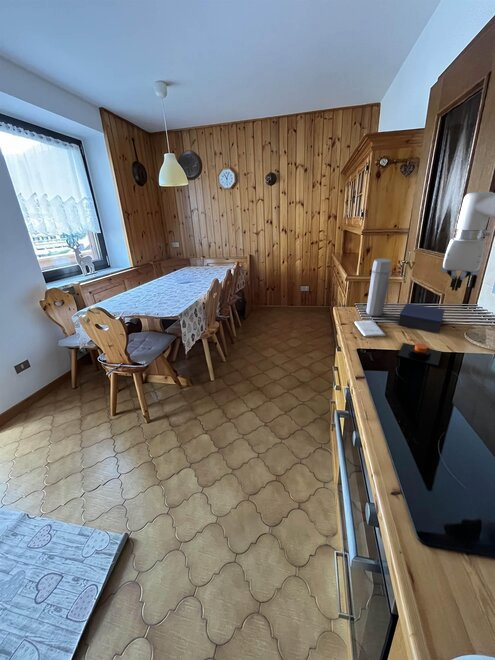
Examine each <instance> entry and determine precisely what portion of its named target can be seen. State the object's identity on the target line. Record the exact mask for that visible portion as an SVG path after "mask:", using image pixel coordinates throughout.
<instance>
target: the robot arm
mask: <svg viewBox="0 0 495 660" xmlns="http://www.w3.org/2000/svg"><path fill="white" fill-rule="evenodd" d="M490 218H494V219H495V192H493V191H474V192H469V193H467V194H465V196H464V197H463V200H462V204H461V209H460V212H459V216H458V220H457V224H456V228H455V233H454V237H452V238H451V239H450V240H449V243H448V244H447V248H446V251H445V253H444V258H443V262H442V266H441V268H440V272H441V273H444V274H447V275H448V276H449V277H450V279H451V281H450V285H449V288H451V291H455V292H457V291H458V290H459V289H461V287H462V283H463V280H465V279H467V278H468V277H469V276H476V275H479V274H480V268H481V265H482V262H483V257H484V253H485V248H486V238H485V237H489V236H491V233H492V231H491V230H487V226H488V222H489V219H490ZM457 271H461V272H460V275H459V276H457Z"/></svg>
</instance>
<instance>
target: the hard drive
mask: <svg viewBox="0 0 495 660" xmlns="http://www.w3.org/2000/svg"><path fill="white" fill-rule="evenodd" d="M354 325H355V326H356V328H357V329H358V331H360V333H361V334H362V335H363V337H364V338H366V337H369V338H370V337H385V336H386V333H385V332H384V331H383V330H382V329H381V328H380V327H379V325H378V324H377V323H376V322H375V321H374V320H358V321H354Z"/></svg>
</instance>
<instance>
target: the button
mask: <svg viewBox="0 0 495 660" xmlns="http://www.w3.org/2000/svg"><path fill="white" fill-rule="evenodd" d="M414 345H415V351H417V352H421V353H425V352H426V351H427V348H429V347H428V345H427V344H425V343H415V344H414Z"/></svg>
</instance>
